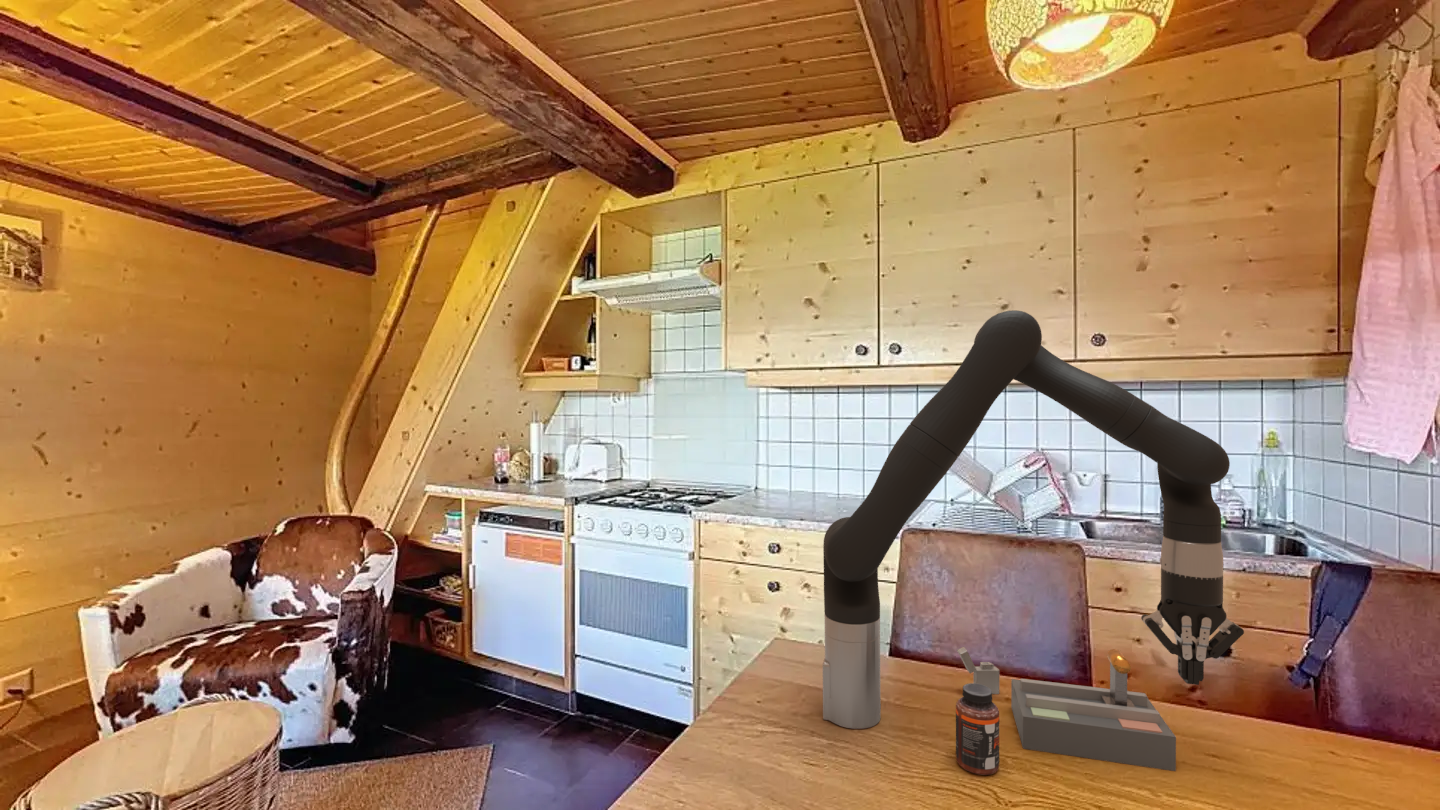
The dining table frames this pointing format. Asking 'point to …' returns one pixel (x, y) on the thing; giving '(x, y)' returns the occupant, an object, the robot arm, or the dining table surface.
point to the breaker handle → (1118, 680)
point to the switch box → (1091, 724)
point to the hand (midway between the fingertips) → (1190, 682)
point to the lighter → (981, 672)
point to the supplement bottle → (977, 730)
